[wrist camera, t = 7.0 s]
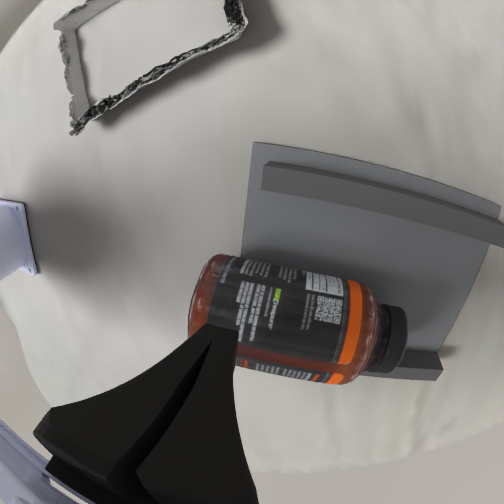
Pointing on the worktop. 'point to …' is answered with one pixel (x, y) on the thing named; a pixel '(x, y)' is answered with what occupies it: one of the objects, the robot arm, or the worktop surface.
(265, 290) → the supplement bottle
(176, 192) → the worktop surface
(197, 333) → the robot arm
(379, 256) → the mat
